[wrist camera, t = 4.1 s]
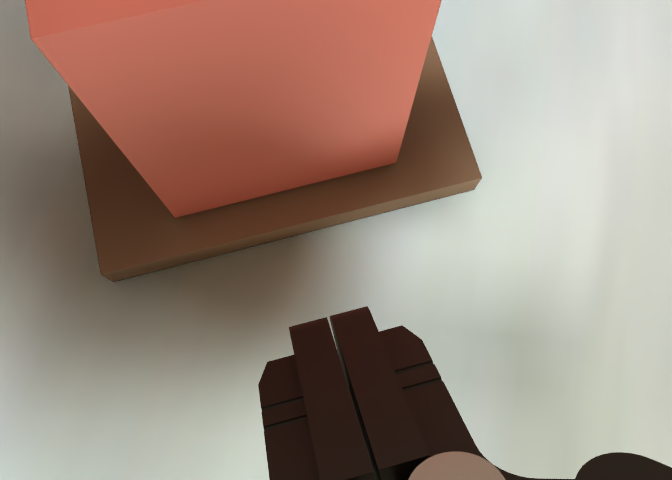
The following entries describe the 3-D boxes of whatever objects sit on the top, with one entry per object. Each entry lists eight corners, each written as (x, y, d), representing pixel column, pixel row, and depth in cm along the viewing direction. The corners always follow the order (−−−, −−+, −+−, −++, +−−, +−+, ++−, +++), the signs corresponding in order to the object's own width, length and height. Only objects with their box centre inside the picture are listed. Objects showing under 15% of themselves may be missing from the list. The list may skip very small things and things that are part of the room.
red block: (396, 162, 17) (457, -55, 9) (175, 217, 17) (31, 38, 9) (340, -12, 19) (350, -331, 11) (136, 34, 18) (-18, -265, 10)
